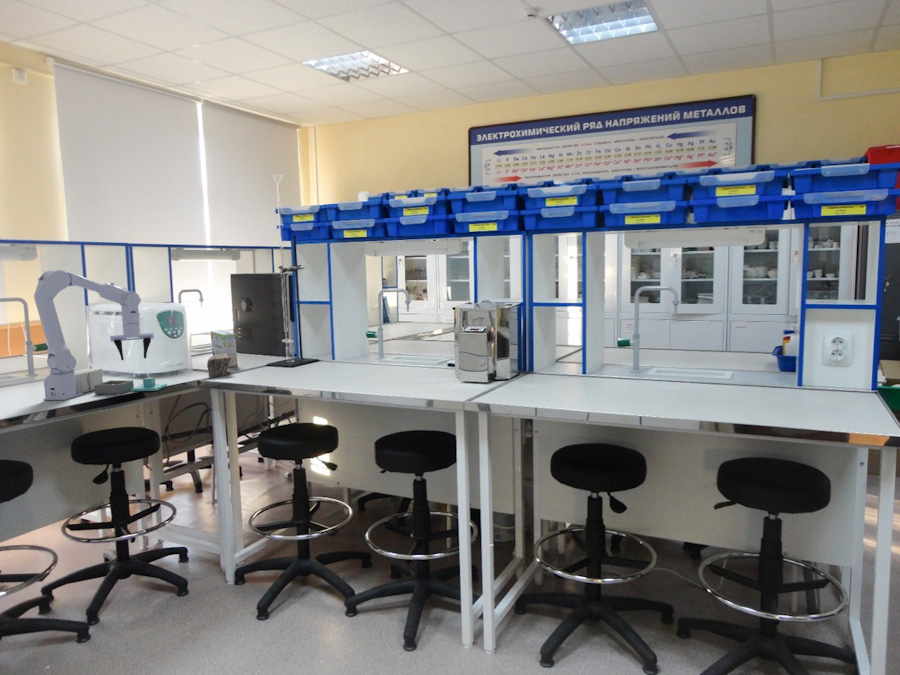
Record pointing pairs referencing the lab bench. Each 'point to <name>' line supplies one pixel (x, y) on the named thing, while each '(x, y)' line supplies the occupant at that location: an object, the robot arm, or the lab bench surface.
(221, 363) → the stone block
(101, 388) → the box
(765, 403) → the lab bench surface
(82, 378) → the supplement box
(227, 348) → the snack box
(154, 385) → the lid
